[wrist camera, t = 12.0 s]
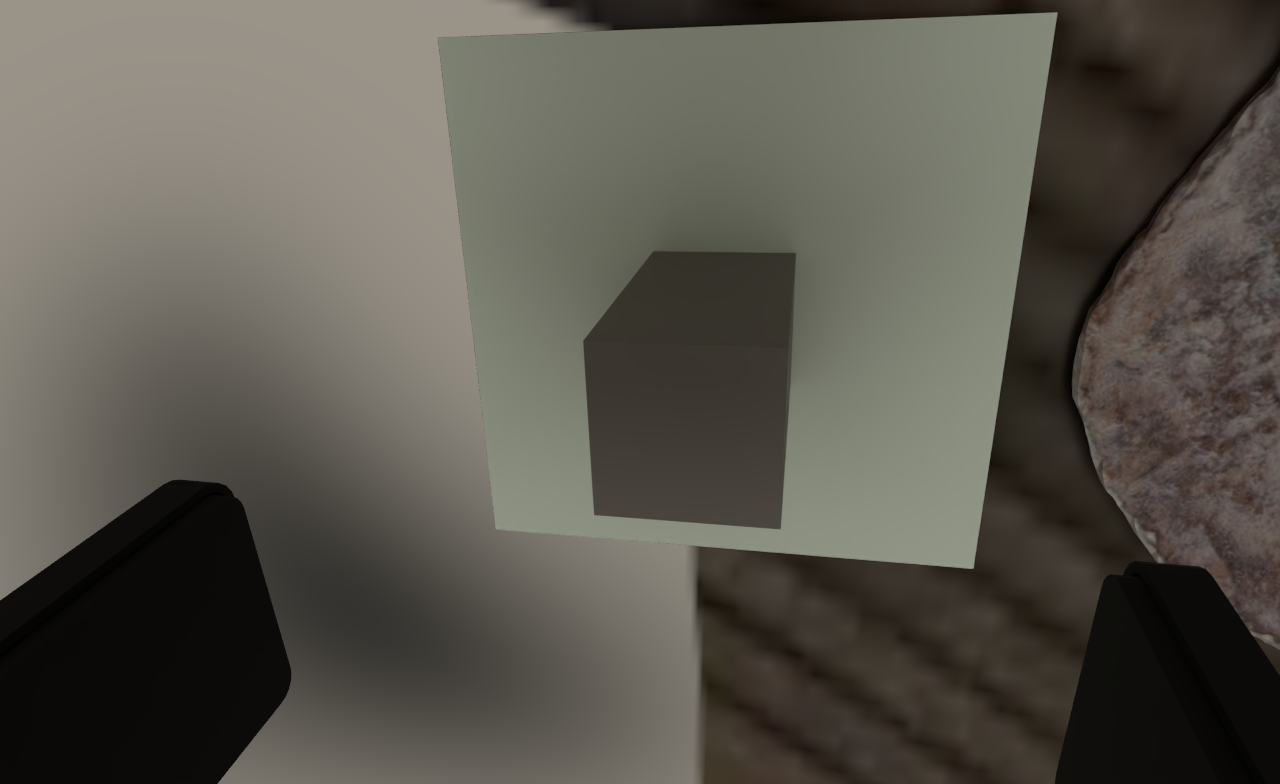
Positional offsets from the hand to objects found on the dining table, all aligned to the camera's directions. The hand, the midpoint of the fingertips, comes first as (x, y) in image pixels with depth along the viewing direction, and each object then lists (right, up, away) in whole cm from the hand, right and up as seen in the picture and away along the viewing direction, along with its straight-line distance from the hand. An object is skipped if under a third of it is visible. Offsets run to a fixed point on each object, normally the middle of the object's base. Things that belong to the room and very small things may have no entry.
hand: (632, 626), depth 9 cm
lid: (+2, +5, +13) cm, 14 cm away
